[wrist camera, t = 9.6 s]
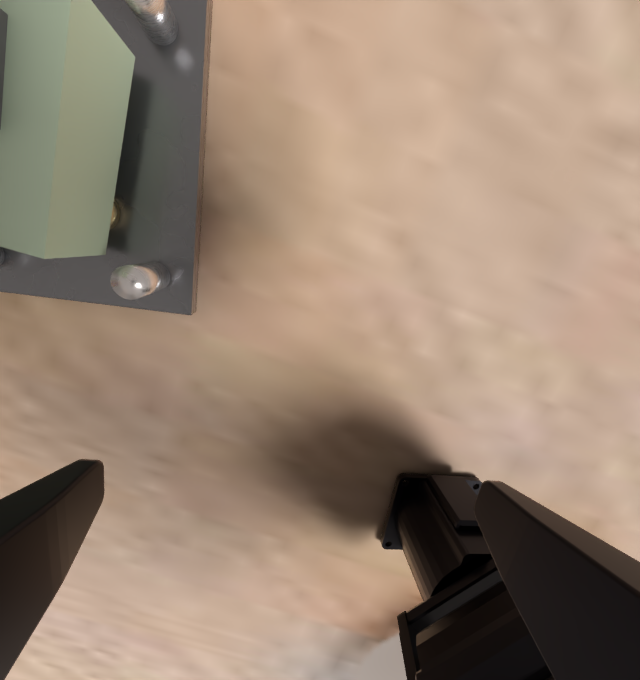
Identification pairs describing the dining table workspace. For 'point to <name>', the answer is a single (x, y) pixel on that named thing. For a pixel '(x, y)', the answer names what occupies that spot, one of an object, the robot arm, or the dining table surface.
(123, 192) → the chassis
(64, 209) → the pale green block
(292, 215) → the dining table surface
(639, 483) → the dining table surface
